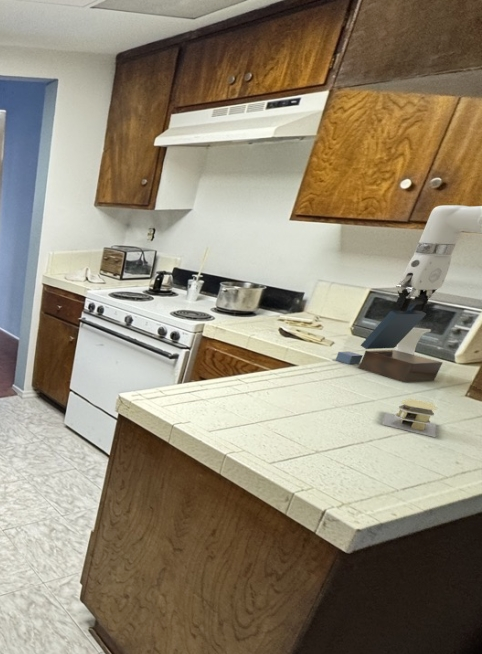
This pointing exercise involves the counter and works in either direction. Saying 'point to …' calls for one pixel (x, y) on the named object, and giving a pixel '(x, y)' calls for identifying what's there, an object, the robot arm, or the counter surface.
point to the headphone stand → (411, 340)
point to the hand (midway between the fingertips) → (408, 309)
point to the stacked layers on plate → (413, 417)
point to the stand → (400, 365)
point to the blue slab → (394, 327)
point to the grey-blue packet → (349, 357)
